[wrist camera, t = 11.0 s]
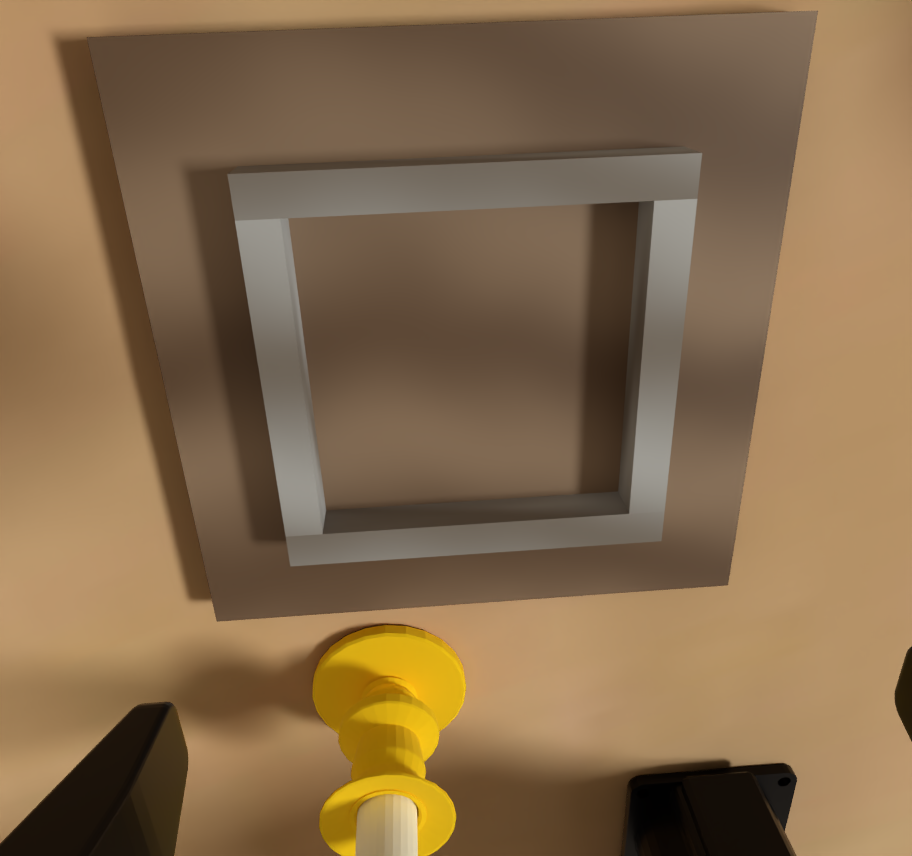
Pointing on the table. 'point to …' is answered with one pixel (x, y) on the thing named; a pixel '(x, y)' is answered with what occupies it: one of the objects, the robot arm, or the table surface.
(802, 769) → the table surface
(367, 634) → the candle
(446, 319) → the socket board
